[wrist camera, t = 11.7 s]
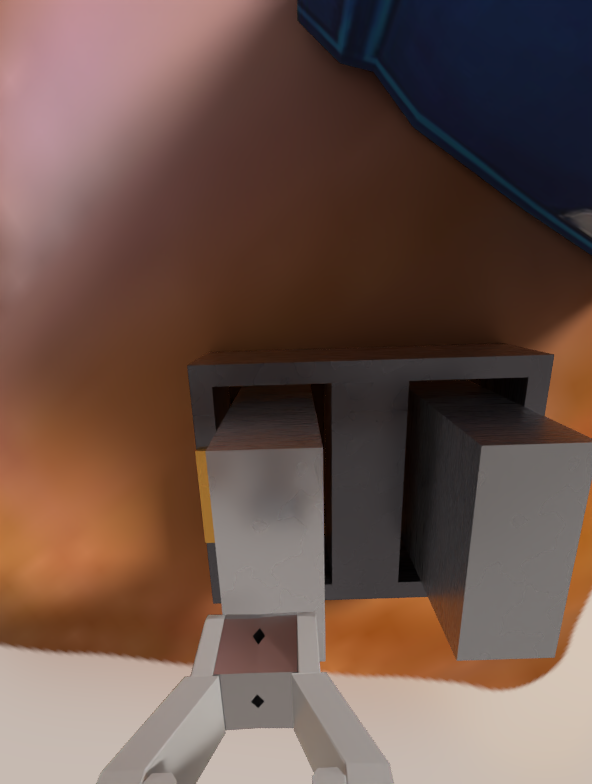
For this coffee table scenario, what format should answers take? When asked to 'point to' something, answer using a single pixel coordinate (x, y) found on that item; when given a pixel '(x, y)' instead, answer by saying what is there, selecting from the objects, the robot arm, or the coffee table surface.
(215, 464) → the block
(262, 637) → the robot arm
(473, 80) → the book
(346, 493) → the rack
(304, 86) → the coffee table surface
